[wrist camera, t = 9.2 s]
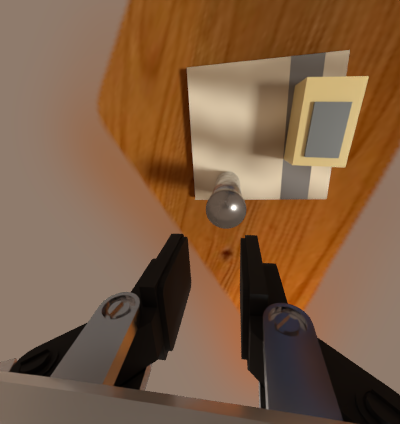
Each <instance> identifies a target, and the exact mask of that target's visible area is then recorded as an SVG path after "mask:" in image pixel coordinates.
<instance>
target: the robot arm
mask: <svg viewBox="0 0 400 424" xmlns="http://www.w3.org/2000/svg"><path fill="white" fill-rule="evenodd" d="M190 288H191V273H190V261H189V249H188V238H187V237H184V235H183V234H171V236H170V237H169V239H168V240H167V242H166V244H165V245H164V247H163V248H162V250H161V252H160V253H159V255H158V256H157V258H156V259H152V260H151V262H150V264H149V265H148V267H147V268H146V270H145V271H144V273H143V274H142V276H141V277H140V279H139V280H138V282H137V284H136V285H135V287H134V288H133V290H132V291H131V293H130V292H122V293H118V294H115V295H113V296H111V297H109V298H107V299H106V300H105V301H103V303H101V305H100V306H99V307H98V309H97V310H96V311H95V313H94V314H93V316H92V317H91V319H90V320H89V321H88V323H86V324H84V325H82V326H79V327H77V328H75V329H73V330H71V331H69V332H67V333H65V334H63V335H61V336H59V337H56V338H54V339H52V340H50V341H48V342H46V343H44V344H42V345H40V346H38V347H36V348H34V349H32V350H31V351H29V352H27V353H26V354H25V355H24V356H22V357H21V358H20V359H19V360H18V361H17V359H16V358H14V359H10V360H7V361H3V362H0V424H400V395H399V394H398V393H396V392H395V391H394V390H392V389H391V388H389V387H388V386H387V385H385V384H384V383H382V382H381V381H379V380H377V379H376V378H375V377H373V376H372V375H371V374H369V373H368V372H366V371H365V370H363V369H362V368H361V367H359V366H358V365H356V364H355V363H353V362H352V361H350V360H349V359H348V358H346V357H345V356H343V355H342V354H340V353H339V352H337V351H336V350H335V349H333V348H332V347H330V346H329V345H327V344H326V343H325V342H323V341H322V340H320V339H319V338H317V335H316V332H315V329H314V326H313V323H312V321H311V319H310V317H309V316H308V315H307V314H306V313H305V312H304V311H302V310H301V309H300V308H298V307H296V306H293V305H291V304H288V303H287V300H286V296H285V293H284V289H283V286H282V283H281V279H280V276H279V272H278V269H277V266H276V264H272V263H262V258H261V253H260V248H259V243H258V238H257V236H255V235H245V238H241V252H240V311H241V353H242V354H241V357H242V359H246V360H247V365H248V370H249V371H250V372H251V373H252V374H253V375H254V376H255V378H256V379H257V380H258V381H259V408H256V407H249V406H242V405H237V404H230V403H223V402H217V401H210V400H203V399H196V398H189V397H184V396H177V395H170V394H163V393H156V392H150V391H145V389H146V386H147V382H148V379H149V376H150V372H151V367H152V363H153V362H155V361H156V360H158V359H160V360H166V357H167V353H168V351H172V350H173V348H174V345H175V341H176V338H177V334H178V331H179V327H180V324H181V320H182V317H183V313H184V310H185V306H186V303H187V300H188V296H189V292H190Z"/></svg>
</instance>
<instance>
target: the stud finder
mask: <svg viewBox="0 0 400 424" xmlns="http://www.w3.org/2000/svg"><path fill="white" fill-rule="evenodd" d="M368 78H369V76H352V77H307V78H305V79H304V80H303V81H301V82H300V83H298V84H297V85H296V86H295V89H294V96H293V102H292V109H291V115H290V121H289V128H288V134H287V141H286V147H285V154H284V160H285V161H287V162H288V163H290V164H291V165H299V166H323V167H345V166H346V162H347V158H348V155H349V151H350V147H351V143H352V139H353V135H354V132H355V128H356V124H357V120H358V116H359V112H360V108H361V105H362V101H363V97H364V93H365V89H366V85H367V81H368Z"/></svg>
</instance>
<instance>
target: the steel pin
mask: <svg viewBox="0 0 400 424" xmlns="http://www.w3.org/2000/svg"><path fill="white" fill-rule="evenodd" d="M206 214H207V217H208V219H209V220H210V221H211V222H212V223H213V224H214V225H215V226H217V227H220V228H232V227H235V226H237V225H239V224H240V223H241V222H242V221H243V219H244V217H245V215H246V205H245V201H244V198H243V197H242V194H241V187H240V180H239V178H238V176H237V175H236V174H235V173H233V172H223V173H221V174H220V175H219V176H218V177H217V180H216V183H215V186H214V190H213V193H212V195H211V196H210V197H209V199H208V202H207V205H206Z"/></svg>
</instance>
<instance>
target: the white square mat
mask: <svg viewBox="0 0 400 424" xmlns="http://www.w3.org/2000/svg"><path fill="white" fill-rule="evenodd" d="M349 53H350V50H346V51H336V52H327V53H318V54H308V55H299V56H290V57H281V58H271V59H262V60H253V61H244V62H234V63H225V64H216V65H207V66H197V67H188V68H187V79H188V95H189V110H190V125H191V140H192V156H193V171H194V186H195V200H208V199H209V197H210V196H211V195H212V193H213V190H214V186H215V183H216V180H217V177H218V176H219V175H220V174H221V173H223V172H233V173H235V174H236V175H237V176H238V178H239V180H240V187H241V194H242V197H243V198H244V199H327V193H328V186H329V180H330V174H331V167H323V166H299V165H291V164H290V163H288V162H287V161H285V160H284V154H285V147H286V141H287V134H288V128H289V121H290V115H291V109H292V102H293V96H294V89H295V86H296V85H297V84H298V83H300V82H301V81H303V80H304V79H305V78H307V77H346V72H347V66H348V59H349Z"/></svg>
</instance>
